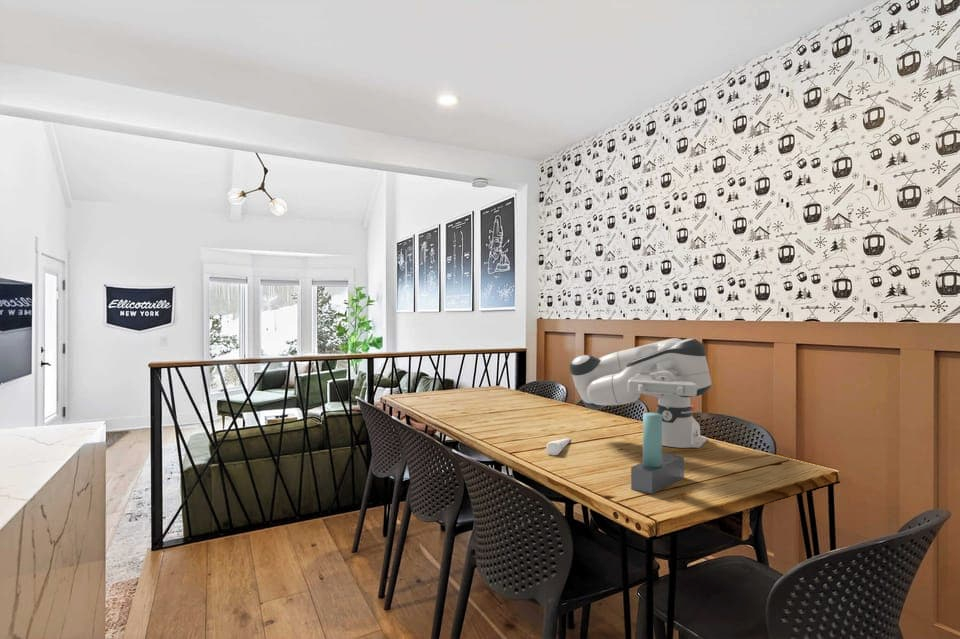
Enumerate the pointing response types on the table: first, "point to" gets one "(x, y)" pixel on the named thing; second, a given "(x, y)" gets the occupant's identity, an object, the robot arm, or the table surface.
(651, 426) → the teal post
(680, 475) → the gray block
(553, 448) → the unicorn horn
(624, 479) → the table surface
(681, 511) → the table surface
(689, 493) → the table surface
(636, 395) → the robot arm
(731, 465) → the table surface
